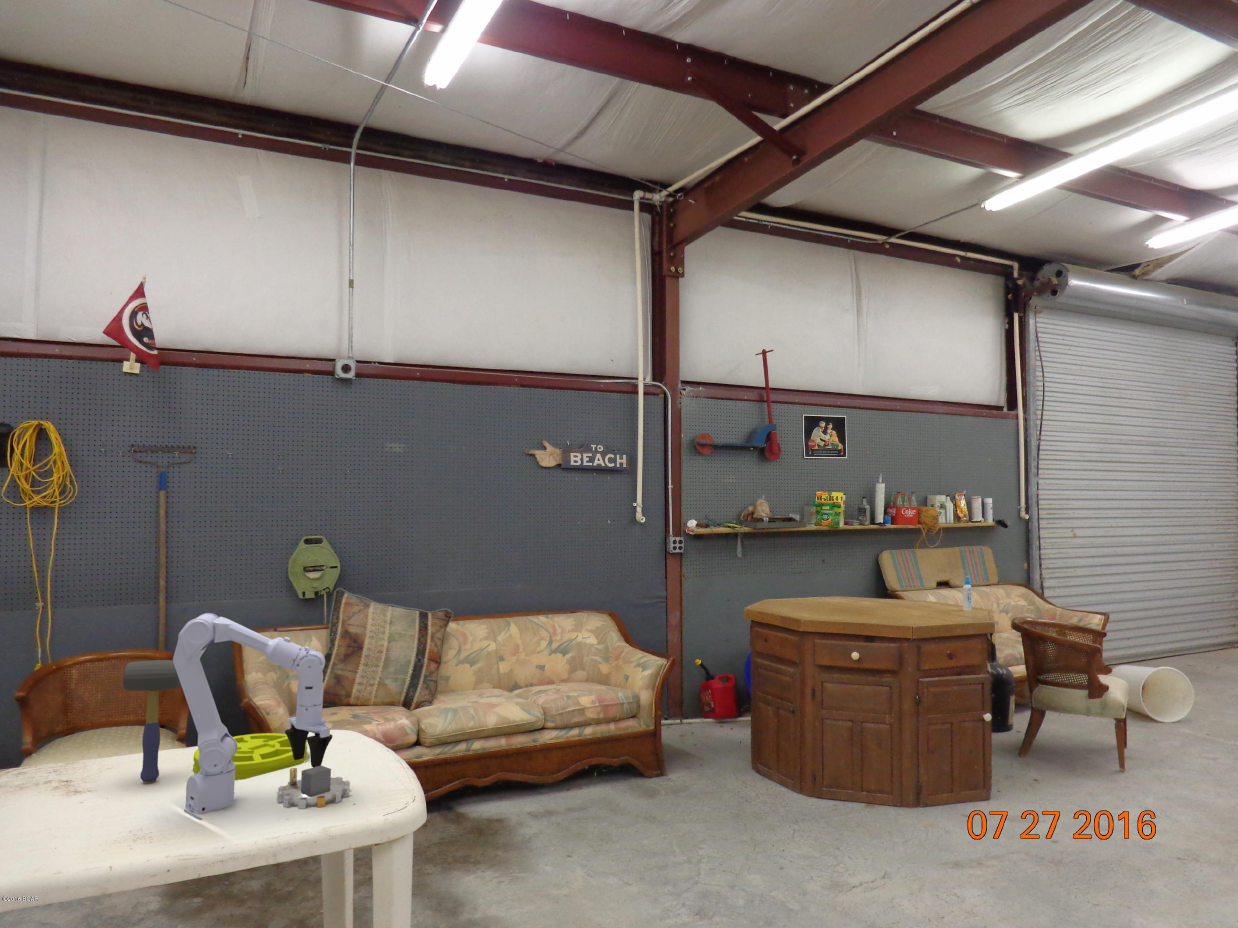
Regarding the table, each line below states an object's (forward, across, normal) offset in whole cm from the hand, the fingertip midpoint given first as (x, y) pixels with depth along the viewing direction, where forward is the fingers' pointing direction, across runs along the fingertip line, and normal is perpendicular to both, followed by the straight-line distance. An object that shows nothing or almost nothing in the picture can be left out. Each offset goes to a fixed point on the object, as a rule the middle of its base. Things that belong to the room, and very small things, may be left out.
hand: (307, 762), depth 189 cm
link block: (+6, -4, 0) cm, 7 cm away
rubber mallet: (+10, +42, +18) cm, 46 cm away
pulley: (+10, +38, -7) cm, 40 cm away
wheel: (+8, 0, -2) cm, 8 cm away
